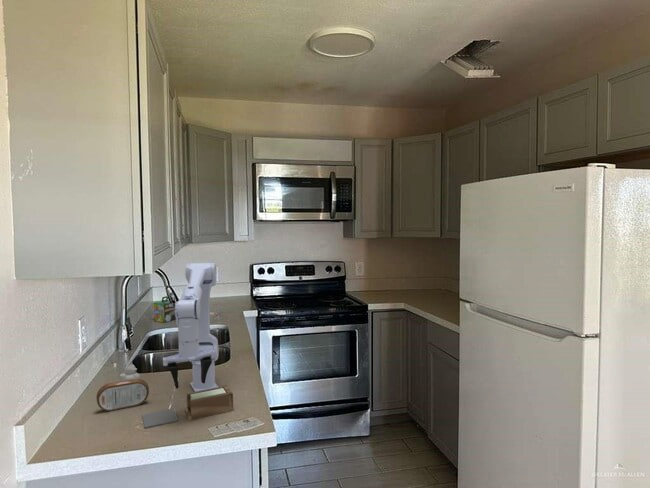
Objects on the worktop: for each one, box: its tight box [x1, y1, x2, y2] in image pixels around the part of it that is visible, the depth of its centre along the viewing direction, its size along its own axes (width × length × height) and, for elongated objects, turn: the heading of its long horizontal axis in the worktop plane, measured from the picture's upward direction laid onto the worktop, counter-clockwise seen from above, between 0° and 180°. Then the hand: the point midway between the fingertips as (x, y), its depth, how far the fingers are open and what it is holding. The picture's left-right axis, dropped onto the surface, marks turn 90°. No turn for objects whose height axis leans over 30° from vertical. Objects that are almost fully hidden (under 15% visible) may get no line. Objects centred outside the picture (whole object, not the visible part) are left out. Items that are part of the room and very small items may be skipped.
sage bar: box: [191, 388, 226, 400], centre depth 130 cm, size 4×10×2 cm, turn 118°
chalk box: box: [153, 295, 176, 324], centre depth 252 cm, size 9×9×15 cm
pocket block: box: [184, 385, 234, 421], centre depth 130 cm, size 7×13×5 cm, turn 118°
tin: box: [95, 378, 150, 412], centre depth 133 cm, size 15×3×8 cm, turn 118°
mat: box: [141, 407, 179, 429], centre depth 125 cm, size 9×9×1 cm
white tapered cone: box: [119, 362, 141, 381], centre depth 153 cm, size 5×7×8 cm
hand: (190, 384), depth 125 cm, fingers open, 7 cm apart
